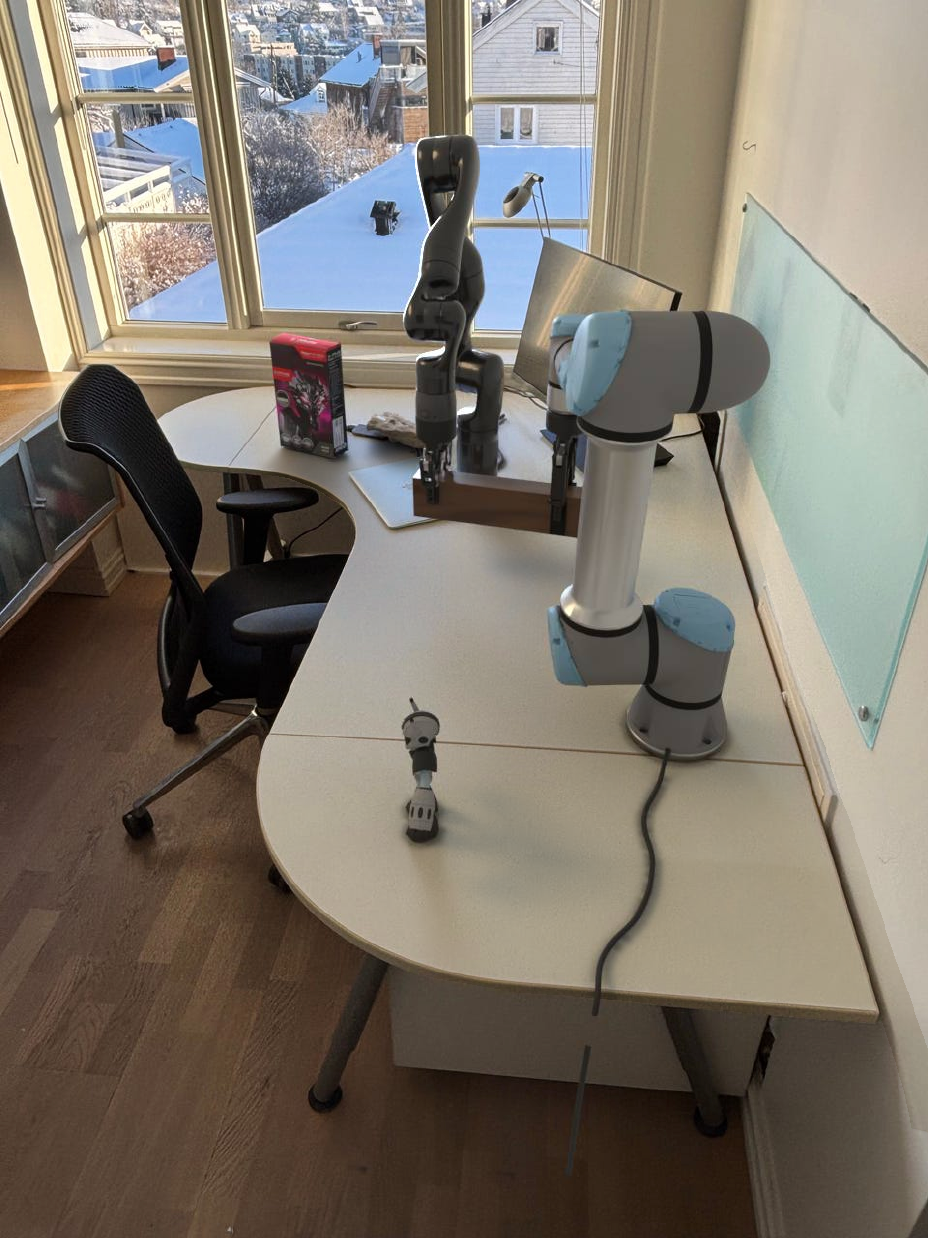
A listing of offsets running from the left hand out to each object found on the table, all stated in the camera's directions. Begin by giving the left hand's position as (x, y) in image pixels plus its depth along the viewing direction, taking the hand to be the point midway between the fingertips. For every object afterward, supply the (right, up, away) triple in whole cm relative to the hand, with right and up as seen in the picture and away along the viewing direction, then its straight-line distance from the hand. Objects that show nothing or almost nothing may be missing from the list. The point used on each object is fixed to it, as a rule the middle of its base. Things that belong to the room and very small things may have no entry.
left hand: (436, 496), depth 176 cm
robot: (0, -51, -49) cm, 71 cm away
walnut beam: (+12, -5, -1) cm, 12 cm away
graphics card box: (-32, +19, +55) cm, 67 cm away
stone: (-10, +22, +60) cm, 65 cm away
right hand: (+23, -6, -4) cm, 24 cm away
